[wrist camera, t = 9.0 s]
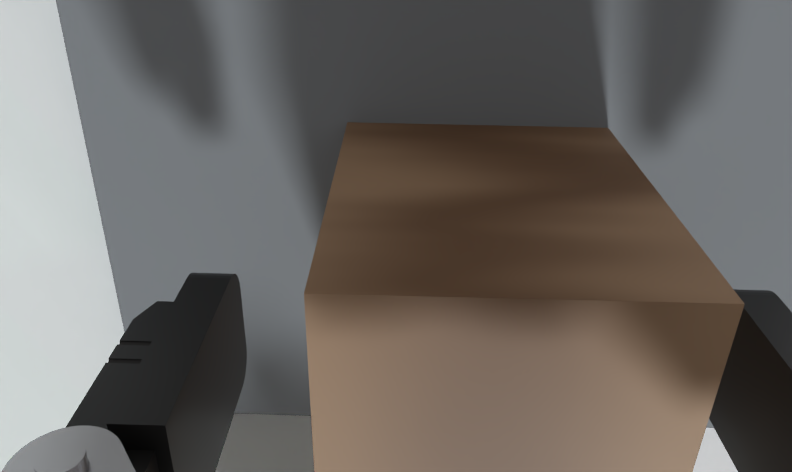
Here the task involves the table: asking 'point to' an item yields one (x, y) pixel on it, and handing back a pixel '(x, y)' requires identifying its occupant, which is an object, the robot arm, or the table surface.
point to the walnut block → (508, 307)
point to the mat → (411, 104)
